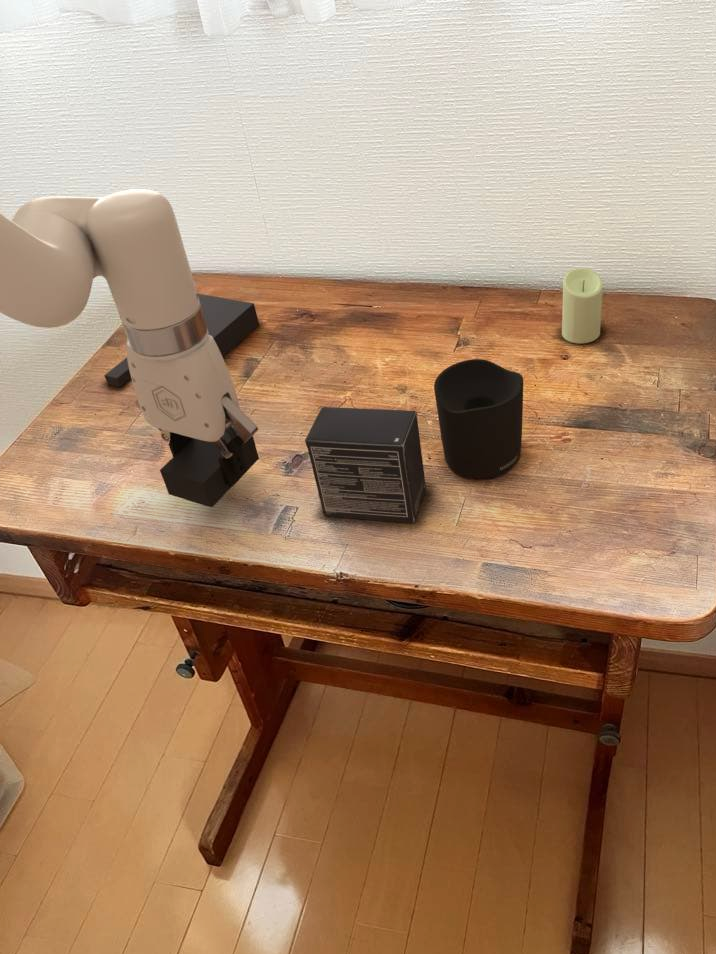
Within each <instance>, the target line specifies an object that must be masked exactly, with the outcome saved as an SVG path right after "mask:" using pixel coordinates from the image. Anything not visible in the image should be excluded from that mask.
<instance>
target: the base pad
mask: <svg viewBox="0 0 716 954" xmlns="http://www.w3.org/2000/svg"><path fill="white" fill-rule="evenodd" d="M197 294H198V297H199V301H200V304H201V307H202V311H203V314H204V318H205V321H206V325H207V329H208V332H209V335H211V336H212V337H213V339H214V341H215V342H216V344H217V346H218V348H219V351H220V353H221V355H222V357H223V358H224V357H225V356H227V354H228V353H230V352H231V351H232V350H233V349H234V348H235V347H236V346H237V345H238V344H240V343H241V342H243V340H244V339H245V338H247V337H248V336H249V334H251V333H252V332H253V331H254V330H255V329H256V328H257V327H259V325H260V321H259V318H258V314H257V310H256V307H255V303H254V302H249V301H243V300H237V299H231V298H225V297H219V296H215V295H209V294H203V293H197ZM103 376H104V379H105V381H106V383H107V385H109V386H113V387H118V388H122V387H123V386H124V385H126V383H128V382H129V381H130V380H132V379H131V375H130V371H129V366H128V360H127V356H126V357H125V358H124V359H122V361H120V362H119V363H118V364H116V365H115V366H114V367H113V368H111V369H110V370H109V371H108V372H106V373H105V374H104V375H103Z"/></svg>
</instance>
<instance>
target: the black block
mask: <svg viewBox="0 0 716 954" xmlns="http://www.w3.org/2000/svg"><path fill="white" fill-rule="evenodd" d="M223 438H224V439H225V441H226V443H227V444H228V443H229V442H230V441H231V440H232V439H231V437H230V436H229V434H228V433H227V431H225V432H224V435H223ZM241 448H242V451H243V454H244V458H245V461H246V465H247V472H248V471H249V470H250V469H251V468H252V467H253V466H254V464H256V462H257V461H258V460H259V459H260V457H259V454H258V450H257V446H256V442H255V438H254V435H253V436H252V437H251V438H250V439H249V440H248V441H247V442H246V443H244V444H243V445H242V446H241ZM220 455H221V453H220V452H219V450H218V448H217V447H216V445H215V444H214V442H208V441H203V440H199V439H195V438H193V439H192V440H191V441H190V442H189V443H188V444H187V445H186V446H185V447H184V448H183V449H182V450H181V451H180V452H179V453H178V454H176V455H175V456H174V457H173V456H172V457H171V459H170V460H169V461H168V462H166V463H165V464H164V466H162V467H161V468H160V469H159V471H160V472H159V473H160V474H161V477H162V480H163V483H164V485H165V487H166V490H167V493H168V495H170V496H172V497H176V498H178V499H182V500H186V501H189V502H192V503H195V504H198V505H201V506H205V507H208V508H210V509H213V508H214V506H215V505H216V504H217V503H218V502H220V500H221V499H222V498H223V497H224V496H225V495H226V494H227V493H228V492H229V491H230V489H232V487H233V486H228V485H227V484H226V481H225V478H224V475H223V472H222V468H221V466H220V463H219V460H218V459H219V456H220Z"/></svg>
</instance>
